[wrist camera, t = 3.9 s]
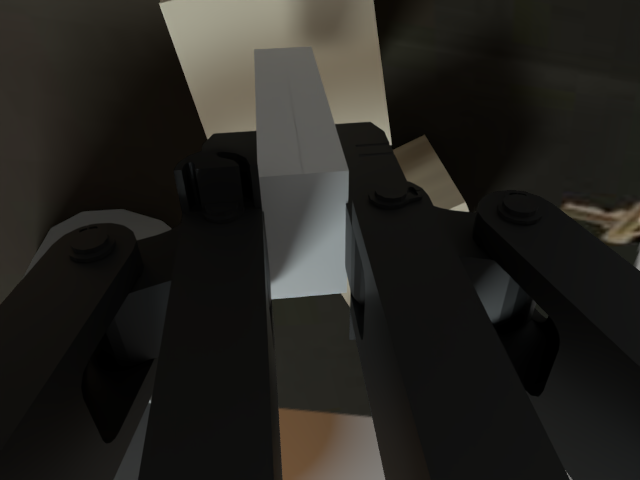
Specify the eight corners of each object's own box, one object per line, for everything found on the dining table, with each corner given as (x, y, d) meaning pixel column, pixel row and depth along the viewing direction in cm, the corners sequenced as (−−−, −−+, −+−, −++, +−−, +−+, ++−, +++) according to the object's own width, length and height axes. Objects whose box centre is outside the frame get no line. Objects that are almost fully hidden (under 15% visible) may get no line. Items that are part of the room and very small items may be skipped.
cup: (192, 204, 26) (164, 364, 18) (214, 325, 31) (200, 494, 23) (10, 216, 25) (-102, 387, 17) (62, 337, 30) (-7, 515, 22)
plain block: (181, -35, 20) (158, 3, 15) (339, -73, 20) (367, -47, 15) (229, 113, 23) (223, 182, 19) (363, 83, 23) (391, 144, 18)
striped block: (310, 188, 26) (323, 269, 21) (424, 133, 25) (467, 204, 20) (359, 270, 30) (380, 356, 25) (461, 225, 28) (506, 305, 23)
